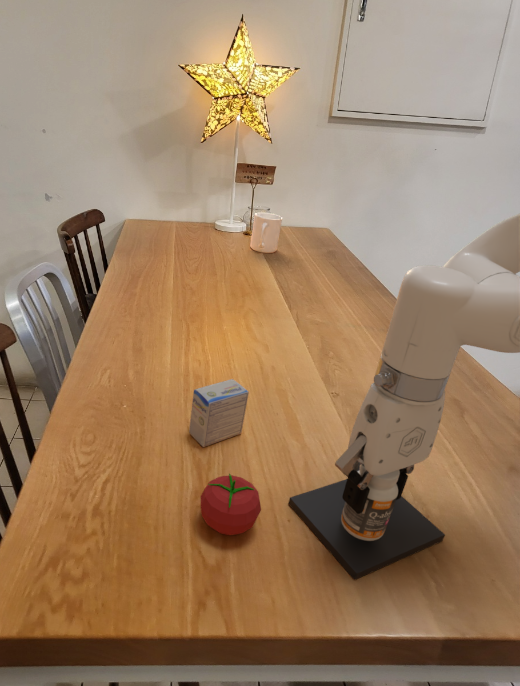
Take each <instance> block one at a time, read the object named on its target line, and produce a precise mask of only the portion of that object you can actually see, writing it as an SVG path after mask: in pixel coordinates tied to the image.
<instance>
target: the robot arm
mask: <svg viewBox="0 0 520 686" xmlns="http://www.w3.org/2000/svg"><path fill="white" fill-rule="evenodd" d="M518 273H520V212H519V213H517V214H515V215H512V216H509V217H507V218H506V219H505V218H504V219H503V220H501V221H498V223H496V224H493V225H492V226H490V227H489V228H488V229H486V230H485V231H483V232H482V233H481V234H479V235H478V236H476V237H475V238H474V239H472V240H471V241H470V242H468V243H467V244H466V245H464V246H463V247H461V249H459V250H458V251H457V252H456V253H454V254H453V255H452V256H451V257H450V258H449V259H448V260H447V261H446V262H445V263H444V264H443V266H440V265H432V264H427V265H426V264H423V265H416V266H414V267H412V268H410V269H408V270H407V272H406V273H405V274H404V276H403V278H402V281H401V284H400V287H399V291H398V294H397V298H396V302H395V304H394V307H393V310H392V314H391V319H390V322H389V325H388V329H387V332H386V336H385V340H384V342H383V346H382V349H381V353H380V357H379V360H378V363H377V366H376V370H375V374H374V376H373V382H372V383H371V384H370V386H369V388H368V390H367V392H366V394H365V396H364V399H363V400H362V403H361V406H359V407H360V408H359V410H358V412H357V414H356V417H355V421H354V423H353V426H352V429H351V432H350V436H349V440H348V444H347V449H346V450H345V451H344V452H343V453H342V454H341V455H340V456H339V458H338V459H337V460H336V461H335V462H334V466H335V467H336V468H337V469H338V470H339V471H340V472H341V473H342V474H343V475H345V476H346V477H347V478H346V479H347V482H346V485H345V489H344V492H343V496H342V498H343V500H344V501H345V502H346V503H347V504H348V505H349V506H350V507H351V508H352V509H353V510H354V511H355V512H356V513H357V514H360V513H362V512H363V510H364V507H365V503H366V500H367V497H368V494H369V491H370V489H369V487H368V484H369V482H370V481H371V479H372V477H373V476H378V475H383V474H387V473H390V472H393V471H397V470H399V471H400V475H399V478H398V481H397V483H396V484H397V487H398V496H397V498H396V500H398V499H400V498H401V496H403V493H404V489H405V486H406V484H407V481H408V479H409V475H410V474H412V473H413V471H414V470H415V465H418V464H420V463H422V462H424V461H425V460H427V459H428V458H429V456H430V455H431V453H432V450H433V447H434V444H435V441H436V438H437V435H438V431H439V427H440V424H441V420H442V418H443V417H442V416H443V412H444V408H445V400H446V387H447V384H448V381H449V378H450V376H451V373H452V371H453V368H454V365H455V362H456V360H457V357H458V354H459V352H460V349H461V347H462V346H470V347H474V348H475V347H476V348H479V349H484V350H489V351H493V352H497V353H505V354H518V353H519V354H520V276H519V275H518ZM360 465H363V466H364V467H365V469H366V471H365V472H364V474H363V476H361V475H360V474H359V473H358V472H357V470H358V468H359V467H360Z"/></svg>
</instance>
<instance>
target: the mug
mask: <svg viewBox="0 0 520 686" xmlns="http://www.w3.org/2000/svg"><path fill="white" fill-rule="evenodd" d="M252 223H253V224H252V231H251V237H250V244H249V245H250V246H249V247H250V249H251V250H253V251H255V252H258V253H262V254H273V253H276V251H277V250H278V246H279V240H280V234H281V227H282V223H283V216H281V215H279V214H276V213H273V212H272V213H271V212H265V211H261V212H260V211H259V212H255V213H254V217H253V222H252Z"/></svg>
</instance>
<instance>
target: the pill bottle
mask: <svg viewBox="0 0 520 686" xmlns="http://www.w3.org/2000/svg"><path fill="white" fill-rule="evenodd" d="M365 471H366V469H365V467H364V466H363V465H360V470H359V471H358V473H359V474H360V475H361V476H363V474H364V472H365ZM399 475H400V471H399V470H397V471H393V472H390V473H387V474H383V475H378V476H373V477H372V479H371V481H370V482H369V484H368V487H369V489H370V491H369V494H368V497H367V500H366V503H365V507H364V510H363V512H362V513H360V514H357V513H356V512H355V511H354V510H353V509H352V508H351V507H350V506H349V505H348V504H347V503H346V502H345V505H344V509H343V512H342V516H341V521H342V524H343V527H344V528H345V529H346V530H347V532H348V533H350V534H351V535H352V536H354V537H356V538H358V539H361V540H366V541H374V540H377V539H379V538H381V537H382V536H383V534H384V532H385V529H386V527H387V524H388V521H389V518H390V515H391V512H392V510H393V507H394V504H395V501H396V498H397V496H398V487H397V484H396V483H397V481H398V478H399Z"/></svg>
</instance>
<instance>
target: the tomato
mask: <svg viewBox="0 0 520 686" xmlns="http://www.w3.org/2000/svg"><path fill="white" fill-rule="evenodd" d="M261 511H262V506H261V500H260V494H259V491H258V490H257V488H256V487H255V486H254V484H253V483H251V482H250V481H248V480H246V479H244V478H243V477H241V476H237V475H232V474H231V473H228V475H221V476H218V477H216V478H213V479H212V480H209V482H208V483H207V485H206V486H205V488H204V489H203V491H202V493H201V495H200V513H201V517H202V518H203V520H204V521H205V523H206V525H207V526H209V527H210V528H211V529H213V531H216V532H218V533H219V534H222V535H225V536H235V535H241V534H243V533H245V532H248V531H249V530H250V529H252V528H253V527H254V525H255V523H256V521H257V519H258V517H259V516H260V513H261Z"/></svg>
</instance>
